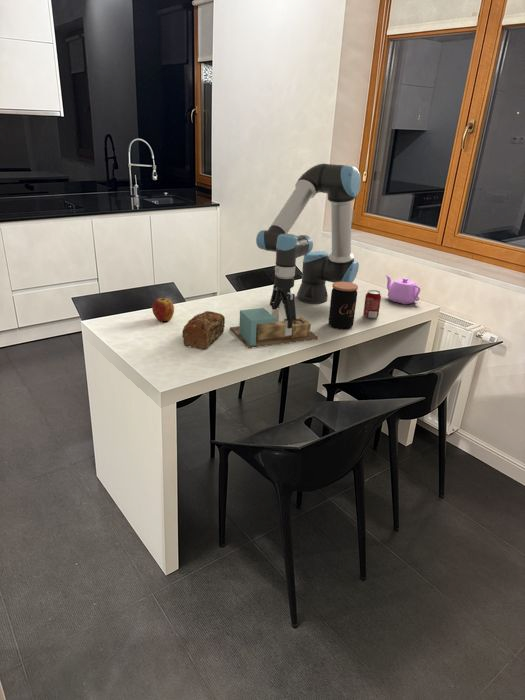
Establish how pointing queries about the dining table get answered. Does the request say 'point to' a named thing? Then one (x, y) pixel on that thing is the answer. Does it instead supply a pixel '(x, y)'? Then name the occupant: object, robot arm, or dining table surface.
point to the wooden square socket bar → (282, 329)
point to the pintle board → (273, 340)
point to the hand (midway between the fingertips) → (281, 329)
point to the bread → (203, 329)
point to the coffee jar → (342, 305)
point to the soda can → (372, 304)
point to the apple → (163, 309)
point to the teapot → (402, 290)
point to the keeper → (253, 323)
